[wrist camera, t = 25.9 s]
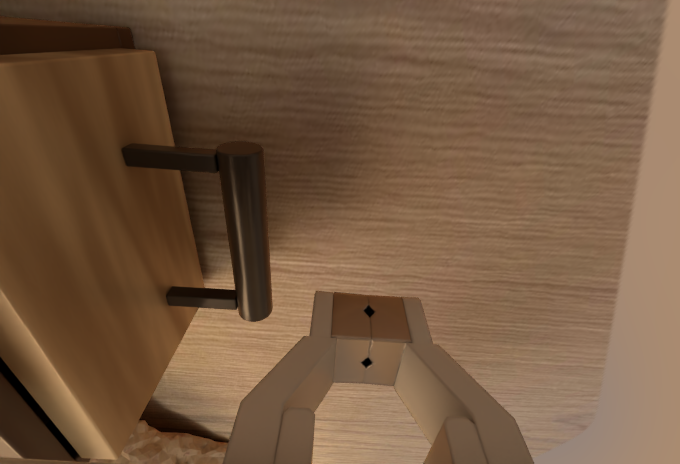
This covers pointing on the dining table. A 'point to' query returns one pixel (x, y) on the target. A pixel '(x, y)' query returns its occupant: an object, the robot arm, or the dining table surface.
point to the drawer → (108, 238)
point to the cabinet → (3, 400)
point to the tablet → (167, 448)
